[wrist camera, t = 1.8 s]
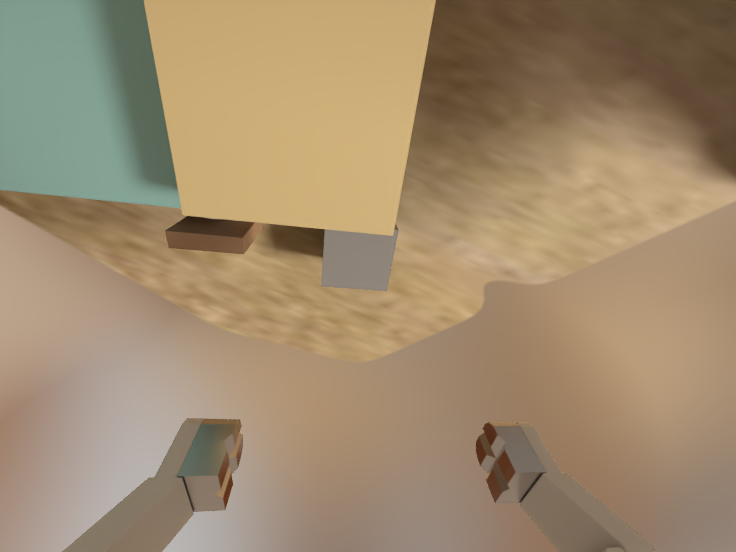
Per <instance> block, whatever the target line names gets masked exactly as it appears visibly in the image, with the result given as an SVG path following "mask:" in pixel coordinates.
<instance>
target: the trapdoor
mask: <svg viewBox="0 0 736 552" xmlns="http://www.w3.org/2000/svg"><path fill="white" fill-rule="evenodd" d="M435 2H436V0H0V190H6V191H16V192H26V193H36V194H45V195H55V196H65V197H75V198H85V199H95V200H105V201H115V202H125V203H135V204H144V205H154V206H164V207H174V208H182V214H183V215H185V216H195V217H204V218H209V219H226V220H236V221H246V222H256V223H267V224H277V225H287V226H297V227H307V228H317V229H328V230H338V231H348V232H358V233H368V234H378V235H389V236H393V234H394V228H395V223H396V217H397V212H398V206H399V201H400V195H401V190H402V184H403V179H404V173H405V168H406V162H407V157H408V151H409V146H410V140H411V135H412V129H413V124H414V118H415V113H416V107H417V101H418V96H419V90H420V85H421V79H422V74H423V68H424V63H425V57H426V52H427V46H428V41H429V35H430V30H431V24H432V19H433V13H434V8H435Z"/></svg>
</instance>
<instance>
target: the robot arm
mask: <svg viewBox="0 0 736 552" xmlns="http://www.w3.org/2000/svg"><path fill="white" fill-rule="evenodd" d="M240 429H241V421H240V420H238V419H201V418H200V419H199V418H198V419H197V418H192V419H191V418H187V419H186V421H185V422H184V423H183V424H182V426H181V428H180V430H179V431H178V433H177V435H176V437H175V439H174V441H173V443H172V445H171V447H170V449H169V451H168V453H167V454H166V456H165V458H164V460H163V462H162V464H161V466H160V468H159V470H158V472H157V474H156V476H155V477H154V478H148V479H147V480H146V481H144V482H143V483H142V484H141V485H140V486H139V487H137V488H136V489H135V490H134V491H133V492H131V493H130V494H129V495H128V496H127V497H126V498H124V499H123V501H121V502H120V503H119V504H117V505H116V506H115V507H114V508H113V509H112V510H110V511H109V512H108V513H107V514H106V515H105V516H103V517H102V518H101V519H100V520H99V521H98V522H97V523H95V524H94V525H93V526H92V527H91V528H89V529H88V530H87V531H86V532H85V533H84V534H82V536H80V537H79V538H78V539H77V540H75V541H74V542H73V543H72V544H71V545H70V546H68V547H67V548H66V549H65V550H64V551H63V552H162V551H163V550H164V549H165V548H166V546H167V545H168V544H169V543H170V542H171V540H172V539H173V538H174V537H175V536H176V534H177V533H178V532H179V531H180V530H181V528H182V527H183V526H184V525H185V524H186V523H187V521H188V520H189V519H190V518H191V517H192V515H193V512H199V511H217V510H225V509H226V506H227V503H228V499H229V496H230V492H231V489H232V486H233V481H232V473H233V472H234V471H235V470H236V469H237V468H238V466H239V462H240V459H241V454H242V448H243V435H242V434H241V433H239V432H240ZM483 430H484V433H483V434H482V435H480V436H479V437H478V439H477V441H476V454H477V458H478V461H479V464H480V466H481V467H482V468H483V469H484V470H485V471H486V472H487V478H486V482H487V484H488V487H489V489H490V492H491V494H492V497H493V499H494V502H495V503H520V506H521V507H522V509H523V510H524V511H525V512H526V513H527V514H528V516H529V517H530V518H531V519H532V520H533V521H534V523H536V525H537V526H538V527H539V528H540V530H541V531H542V532H543V533H544V534H545V535H546V536H547V538H548V539H549V540H550V541H551V542H552V544H553V545H554V546H555V547H556V548H557V549H558V551H559V552H657V550H656V549H655V548H654V546H653V545H652V544H651V543H650V542H649V541H647V540H646V539H645V538H644V537H643V536H642V535H640V534H639V533H638V532H637V531H636V530H634V529H633V528H632V527H631V526H630V525H628V524H627V523H626V522H625V521H624V520H622V519H621V518H620V517H618V515H616V514H615V513H614V512H613V511H612V510H610V509H609V508H608V507H607V506H606V505H604V504H603V503H602V502H601V501H599V500H598V499H597V498H596V497H595V496H593V495H592V494H591V493H590V492H589V491H588V490H586V489H585V488H584V487H583V486H581V485H580V484H579V483H578V482H577V481H576V480H574V479H573V478H572V477H571V476H569V475H568V474H567V473H562V472H561V470H560V468H559V467H558V465H557V463H556V462H555V460H554V459H553V457H552V455H551V454H550V452H549V451H548V449H547V447H546V446H545V444H544V443H543V441H542V439H541V437H540V436H539V434H538V433H537V431H536V429H535V428H534V426H533V425H531V424H530V423H526V422H524V423H522V422H521V423H514V422H488V423H486V424H485V425H484V427H483Z"/></svg>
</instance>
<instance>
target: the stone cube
mask: <svg viewBox="0 0 736 552" xmlns="http://www.w3.org/2000/svg"><path fill="white" fill-rule="evenodd" d="M397 234H398V228H397V226H396V224H395V228H394V234H393V236H389V235H378V234H368V233H358V232H348V231H338V230H328V229H325V234H324V251H323V267H322V284H321V286H325V287H338V288H352V289H365V290H378V291H387V287H388V282H389V277H390V271H391V266H392V261H393V255H394V250H395V245H396V240H397Z"/></svg>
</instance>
